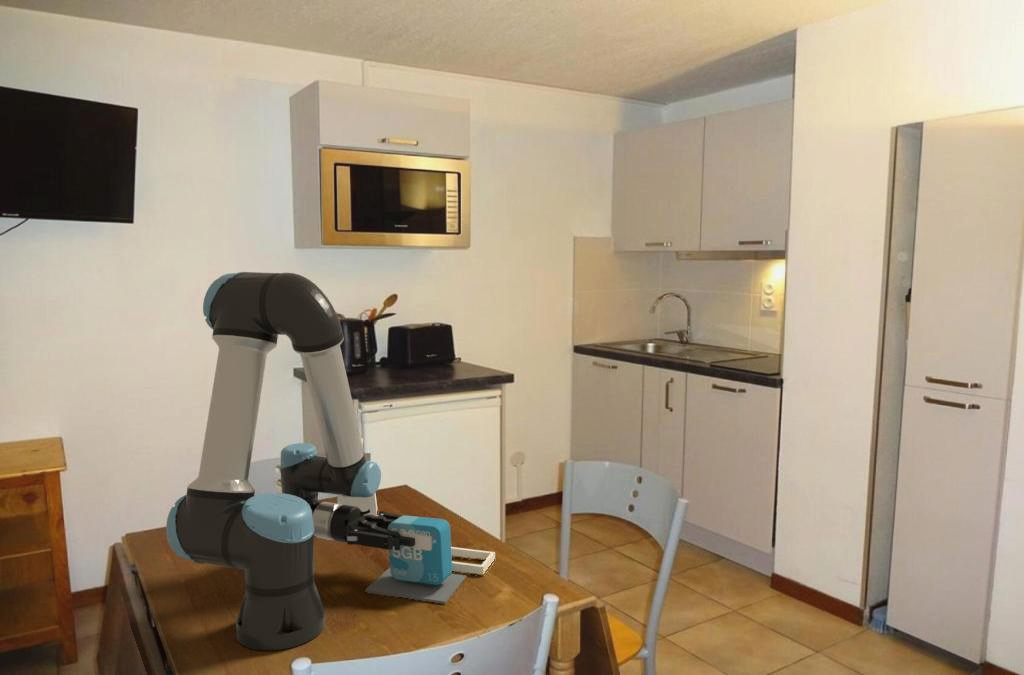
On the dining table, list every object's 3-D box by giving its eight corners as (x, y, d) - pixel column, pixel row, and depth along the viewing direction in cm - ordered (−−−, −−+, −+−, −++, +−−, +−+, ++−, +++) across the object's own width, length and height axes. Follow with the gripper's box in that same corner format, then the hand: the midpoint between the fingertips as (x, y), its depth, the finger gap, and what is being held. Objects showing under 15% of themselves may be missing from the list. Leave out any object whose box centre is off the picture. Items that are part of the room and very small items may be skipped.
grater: (335, 525, 177) (333, 447, 175) (336, 511, 187) (335, 436, 185) (377, 522, 179) (376, 445, 177) (377, 508, 189) (376, 435, 187)
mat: (445, 604, 136) (445, 601, 136) (365, 592, 141) (365, 589, 141) (466, 578, 147) (466, 575, 147) (391, 568, 152) (391, 565, 152)
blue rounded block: (390, 579, 144) (386, 521, 143) (401, 570, 148) (398, 514, 147) (443, 586, 140) (439, 527, 138) (453, 576, 144) (450, 519, 143)
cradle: (483, 576, 148) (483, 567, 148) (416, 567, 153) (416, 558, 152) (495, 560, 156) (495, 552, 156) (431, 552, 160) (431, 544, 160)
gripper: (362, 525, 159) (456, 540, 150) (313, 555, 142) (416, 574, 134) (361, 492, 158) (456, 506, 149) (312, 519, 141) (415, 536, 133)
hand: (437, 538), depth 142 cm, fingers closed on blue rounded block, 4 cm apart
